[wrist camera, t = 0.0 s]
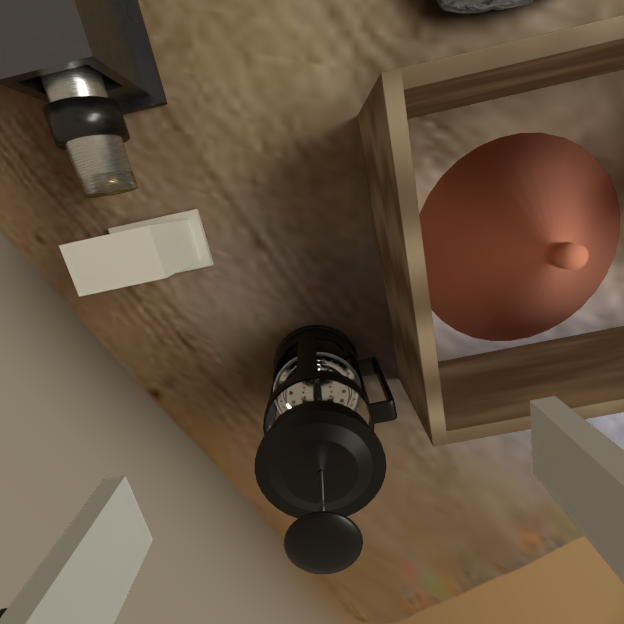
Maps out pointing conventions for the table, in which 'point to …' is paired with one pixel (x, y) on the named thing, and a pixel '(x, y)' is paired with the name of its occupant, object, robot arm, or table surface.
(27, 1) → the dark grey block
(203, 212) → the table surface
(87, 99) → the rod
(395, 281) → the box
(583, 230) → the ceramic vessels
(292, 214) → the table surface
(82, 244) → the socket
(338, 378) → the french press
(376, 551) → the table surface
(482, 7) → the serving board
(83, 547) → the robot arm
